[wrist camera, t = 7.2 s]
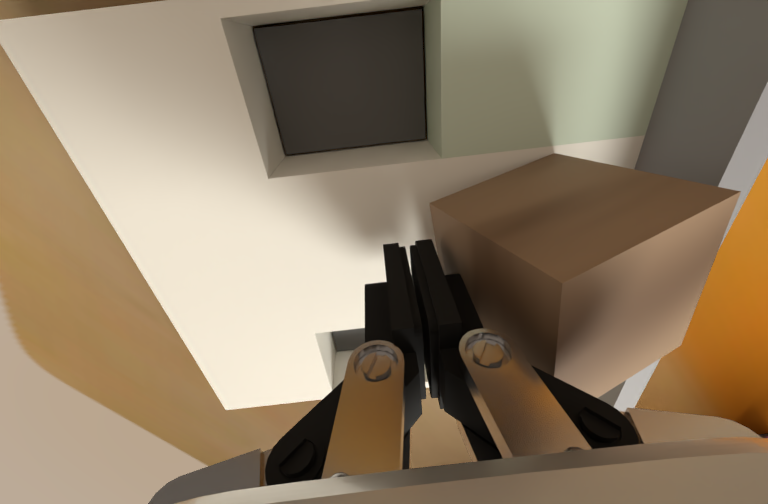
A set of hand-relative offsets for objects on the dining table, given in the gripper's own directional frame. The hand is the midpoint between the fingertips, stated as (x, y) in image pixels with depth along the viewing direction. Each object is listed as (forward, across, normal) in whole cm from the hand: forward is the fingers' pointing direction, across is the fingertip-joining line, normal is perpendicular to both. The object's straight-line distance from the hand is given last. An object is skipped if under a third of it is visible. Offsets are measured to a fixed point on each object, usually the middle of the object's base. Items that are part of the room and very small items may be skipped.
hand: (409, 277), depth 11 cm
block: (+1, -4, 0) cm, 4 cm away
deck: (+5, 0, 0) cm, 5 cm away
